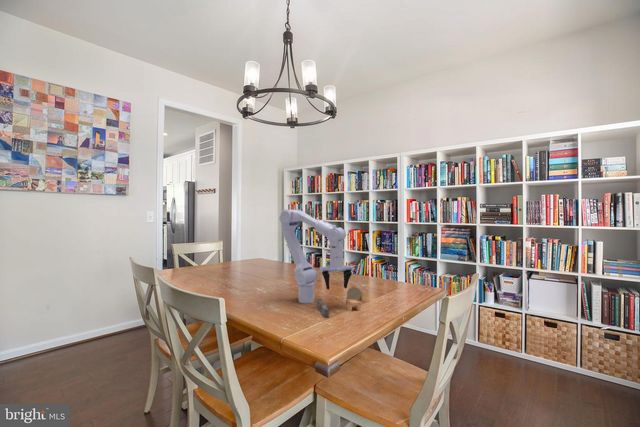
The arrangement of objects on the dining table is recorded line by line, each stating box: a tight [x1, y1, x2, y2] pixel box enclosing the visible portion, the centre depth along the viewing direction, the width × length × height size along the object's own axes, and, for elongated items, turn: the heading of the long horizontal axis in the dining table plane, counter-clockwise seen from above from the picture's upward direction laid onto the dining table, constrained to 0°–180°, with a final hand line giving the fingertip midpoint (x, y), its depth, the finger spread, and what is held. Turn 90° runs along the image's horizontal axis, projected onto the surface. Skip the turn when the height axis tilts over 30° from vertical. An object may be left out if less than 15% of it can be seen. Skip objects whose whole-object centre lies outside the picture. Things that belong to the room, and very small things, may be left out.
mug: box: [346, 286, 363, 301], centre depth 137 cm, size 8×10×10 cm
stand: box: [316, 298, 330, 319], centre depth 118 cm, size 18×8×4 cm, turn 13°
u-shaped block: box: [345, 299, 361, 312], centre depth 120 cm, size 4×5×4 cm
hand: (336, 288), depth 123 cm, fingers open, 7 cm apart
